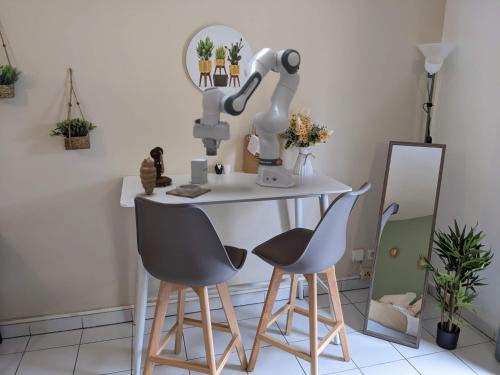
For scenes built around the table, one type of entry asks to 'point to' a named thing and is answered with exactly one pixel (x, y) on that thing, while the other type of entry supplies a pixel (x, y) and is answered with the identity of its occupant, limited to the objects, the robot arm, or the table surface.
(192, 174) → the supplement box
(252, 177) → the table surface
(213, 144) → the piston
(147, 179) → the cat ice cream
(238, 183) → the table surface
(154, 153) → the dark brown tall piece
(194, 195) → the ring board
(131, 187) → the table surface
